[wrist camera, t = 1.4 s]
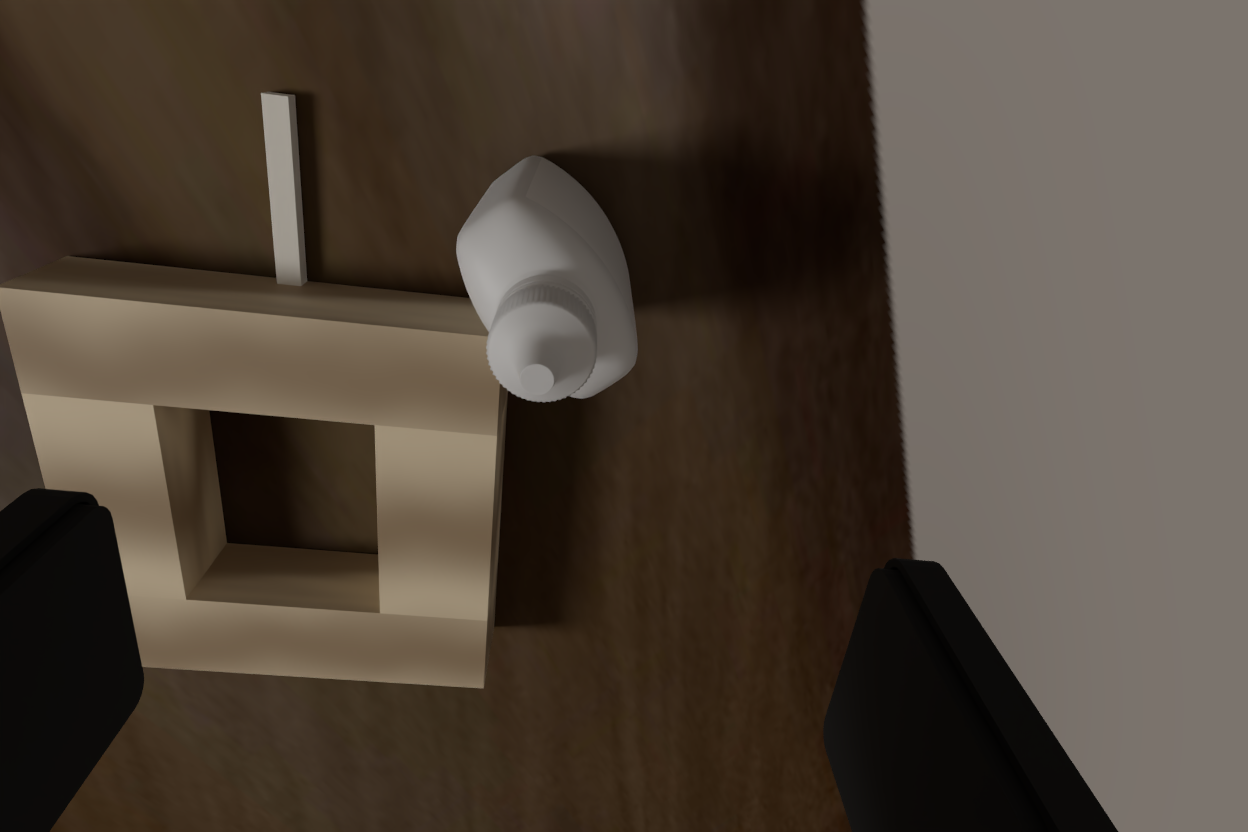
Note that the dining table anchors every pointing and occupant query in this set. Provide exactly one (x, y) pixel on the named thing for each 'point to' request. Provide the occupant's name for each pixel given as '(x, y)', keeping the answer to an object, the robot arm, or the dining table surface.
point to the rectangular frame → (287, 387)
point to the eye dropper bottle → (548, 285)
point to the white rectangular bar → (284, 187)
